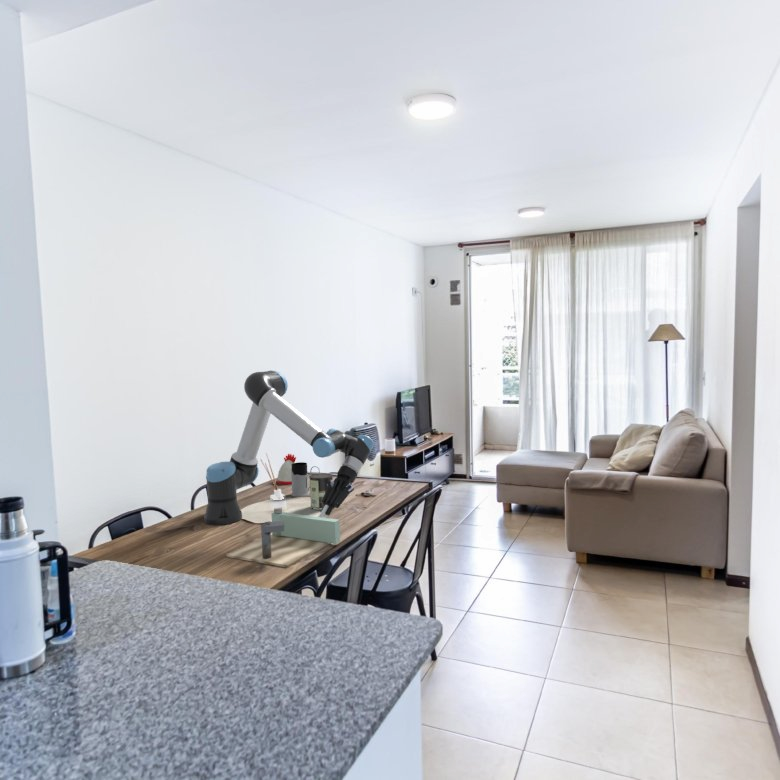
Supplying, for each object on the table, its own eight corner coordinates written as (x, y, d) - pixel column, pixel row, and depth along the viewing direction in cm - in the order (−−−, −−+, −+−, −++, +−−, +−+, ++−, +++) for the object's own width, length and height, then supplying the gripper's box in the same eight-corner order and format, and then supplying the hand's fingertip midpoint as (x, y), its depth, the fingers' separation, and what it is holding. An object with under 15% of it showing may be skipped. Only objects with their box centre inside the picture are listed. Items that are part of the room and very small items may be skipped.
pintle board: (226, 556, 197) (224, 525, 196) (277, 532, 222) (276, 505, 221) (287, 567, 185) (286, 535, 184) (334, 540, 210) (333, 511, 209)
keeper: (262, 562, 190) (260, 527, 189) (263, 557, 195) (261, 522, 194) (285, 560, 191) (283, 525, 190) (285, 555, 196) (284, 520, 195)
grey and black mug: (293, 492, 284) (292, 462, 283) (322, 491, 284) (320, 461, 283) (289, 496, 276) (288, 465, 275) (318, 496, 275) (317, 465, 274)
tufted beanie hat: (291, 485, 299) (290, 457, 298) (272, 483, 306) (270, 455, 305) (309, 480, 310) (308, 452, 309) (290, 477, 318) (289, 450, 317)
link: (269, 535, 215) (268, 514, 215) (277, 531, 220) (277, 510, 219) (334, 544, 202) (333, 522, 202) (341, 540, 207) (340, 518, 206)
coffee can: (336, 503, 260) (335, 473, 259) (329, 510, 250) (328, 478, 249) (314, 503, 263) (313, 472, 262) (307, 509, 252) (305, 477, 251)
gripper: (366, 477, 227) (337, 529, 215) (343, 473, 235) (314, 523, 224) (356, 466, 222) (326, 519, 211) (333, 462, 231) (303, 513, 220)
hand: (320, 521), depth 218 cm, fingers closed
